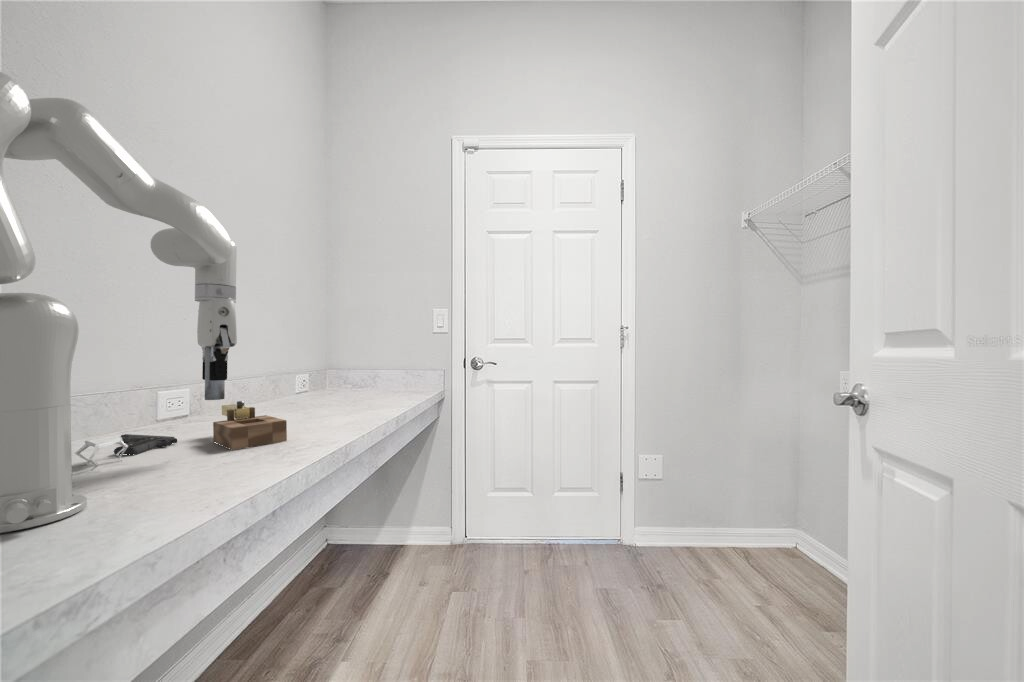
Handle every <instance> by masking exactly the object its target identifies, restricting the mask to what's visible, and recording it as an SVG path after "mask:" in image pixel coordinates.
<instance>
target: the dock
mask: <svg viewBox="0 0 1024 682" xmlns="http://www.w3.org/2000/svg"><path fill="white" fill-rule="evenodd" d="M248 407H249V406H248ZM249 408H250V417H248V418H240V419H235V418H234V410H232V409H231V410H227V416H226V420H220V421H213V422H212V427H213V429H212V430H213V437H212V438H213V443H214V442H216V443H218V444H220V445H223V446H225V447H227V448H226V449H228V448H230V449H232V450H231V451H234V450H233V449H237V450H241V449H240V448H243V449H247V448H246V447H249V448H252V447H251V446H254V447H259V446H258V445H260V446H265V444H266V445H271V444H276V443H283V442H286V441H287V440H288V438H287V437H288V436H287V433H288V431H287V420H286V419H283V418H278V417H274V416H270V415H266V414H265V415H258V416H256V408H255V407H254V406H250V407H249ZM218 444H217V445H218ZM220 445H219V446H220ZM223 446H222V447H223ZM225 447H224V448H225ZM230 449H229V450H230Z"/></svg>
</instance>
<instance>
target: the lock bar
mask: <svg viewBox="0 0 1024 682" xmlns="http://www.w3.org/2000/svg"><path fill="white" fill-rule="evenodd" d="M231 409H232V410H234V419H241V418H249V417H250V408H249V406H245V400H239V401H238V400H237V401H236V404H235V403H233V404H225V405H221V415H222V416H225V417H227V410H231Z"/></svg>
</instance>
